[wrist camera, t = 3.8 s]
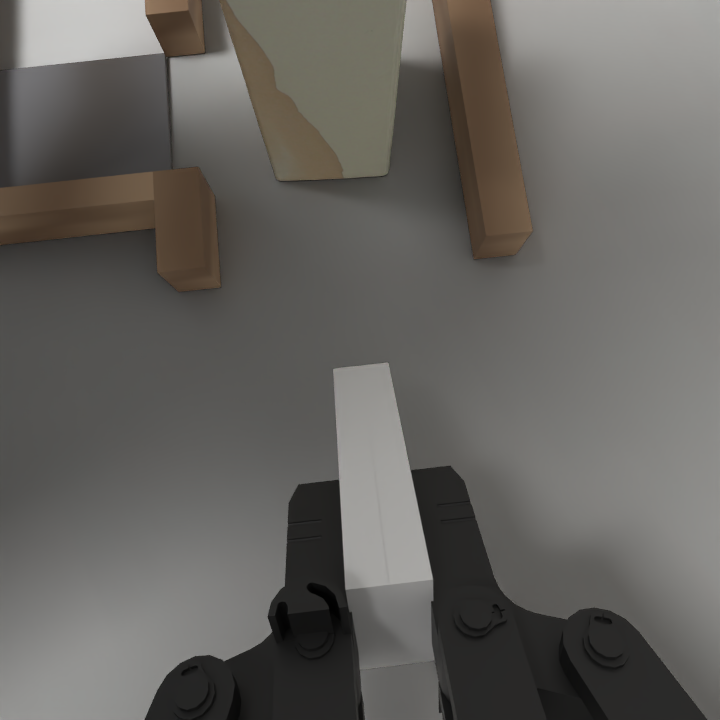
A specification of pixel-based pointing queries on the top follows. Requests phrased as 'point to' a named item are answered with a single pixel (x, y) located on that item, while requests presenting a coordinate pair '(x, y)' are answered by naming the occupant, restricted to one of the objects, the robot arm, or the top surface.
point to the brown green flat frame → (187, 185)
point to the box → (321, 81)
